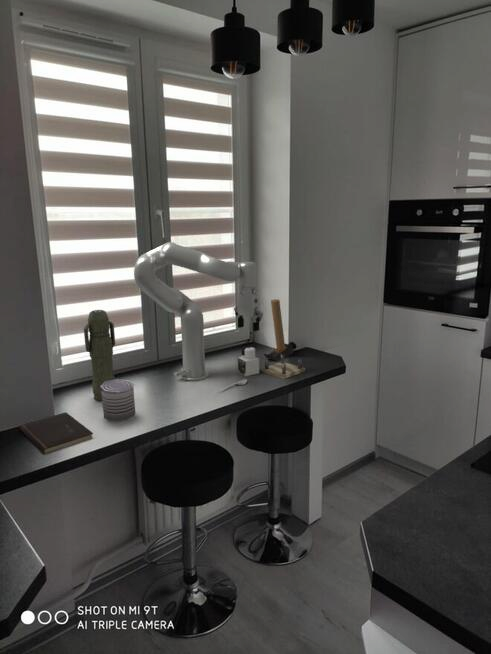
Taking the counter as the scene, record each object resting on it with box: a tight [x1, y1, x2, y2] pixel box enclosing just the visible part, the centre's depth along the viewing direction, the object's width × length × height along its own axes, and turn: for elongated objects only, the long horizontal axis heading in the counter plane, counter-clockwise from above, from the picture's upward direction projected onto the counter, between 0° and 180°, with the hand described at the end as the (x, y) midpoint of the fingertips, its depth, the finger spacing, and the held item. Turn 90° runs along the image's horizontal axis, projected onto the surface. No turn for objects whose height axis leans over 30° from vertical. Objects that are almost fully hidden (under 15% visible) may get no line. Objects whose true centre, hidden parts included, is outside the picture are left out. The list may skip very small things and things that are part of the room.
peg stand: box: [260, 355, 306, 380], centre depth 221 cm, size 14×14×6 cm
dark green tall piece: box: [83, 309, 116, 402], centre depth 191 cm, size 9×12×35 cm
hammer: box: [263, 298, 297, 362], centre depth 239 cm, size 20×5×30 cm, turn 139°
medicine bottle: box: [237, 345, 260, 377], centre depth 220 cm, size 7×7×12 cm
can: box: [100, 378, 136, 423], centre depth 176 cm, size 11×11×12 cm
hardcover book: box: [19, 412, 94, 455], centre depth 164 cm, size 16×23×2 cm
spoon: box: [214, 378, 248, 394], centre depth 203 cm, size 4×21×2 cm, turn 135°
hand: (248, 328), depth 216 cm, fingers open, 9 cm apart
